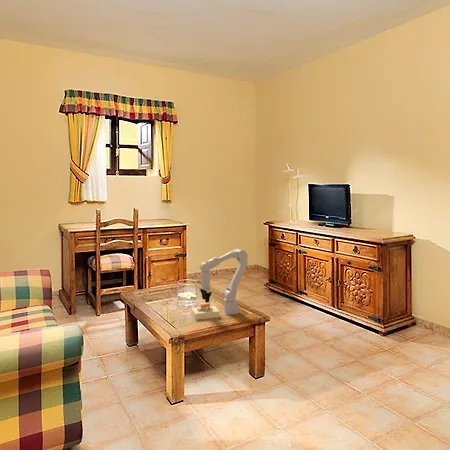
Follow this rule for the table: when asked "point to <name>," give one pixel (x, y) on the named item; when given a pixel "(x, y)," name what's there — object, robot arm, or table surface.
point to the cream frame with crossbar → (205, 313)
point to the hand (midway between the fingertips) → (205, 300)
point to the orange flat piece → (205, 307)
